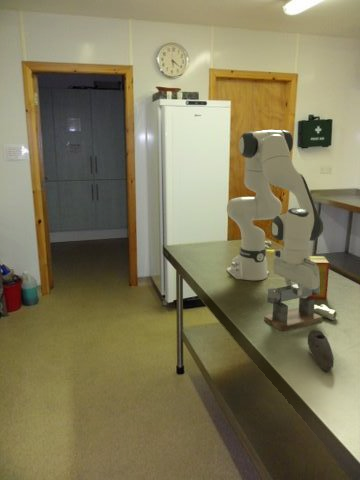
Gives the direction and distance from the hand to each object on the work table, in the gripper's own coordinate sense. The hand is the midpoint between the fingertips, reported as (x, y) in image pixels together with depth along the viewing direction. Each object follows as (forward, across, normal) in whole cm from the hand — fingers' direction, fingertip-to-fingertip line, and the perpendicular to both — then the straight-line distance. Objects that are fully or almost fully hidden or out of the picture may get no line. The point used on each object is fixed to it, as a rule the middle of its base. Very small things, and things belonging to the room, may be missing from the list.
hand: (294, 292), depth 133 cm
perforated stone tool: (+11, -25, +11) cm, 29 cm away
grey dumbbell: (+2, 0, 0) cm, 2 cm away
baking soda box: (+11, +15, -25) cm, 31 cm away
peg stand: (+11, 0, 0) cm, 11 cm away
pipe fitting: (+11, -2, -14) cm, 18 cm away
